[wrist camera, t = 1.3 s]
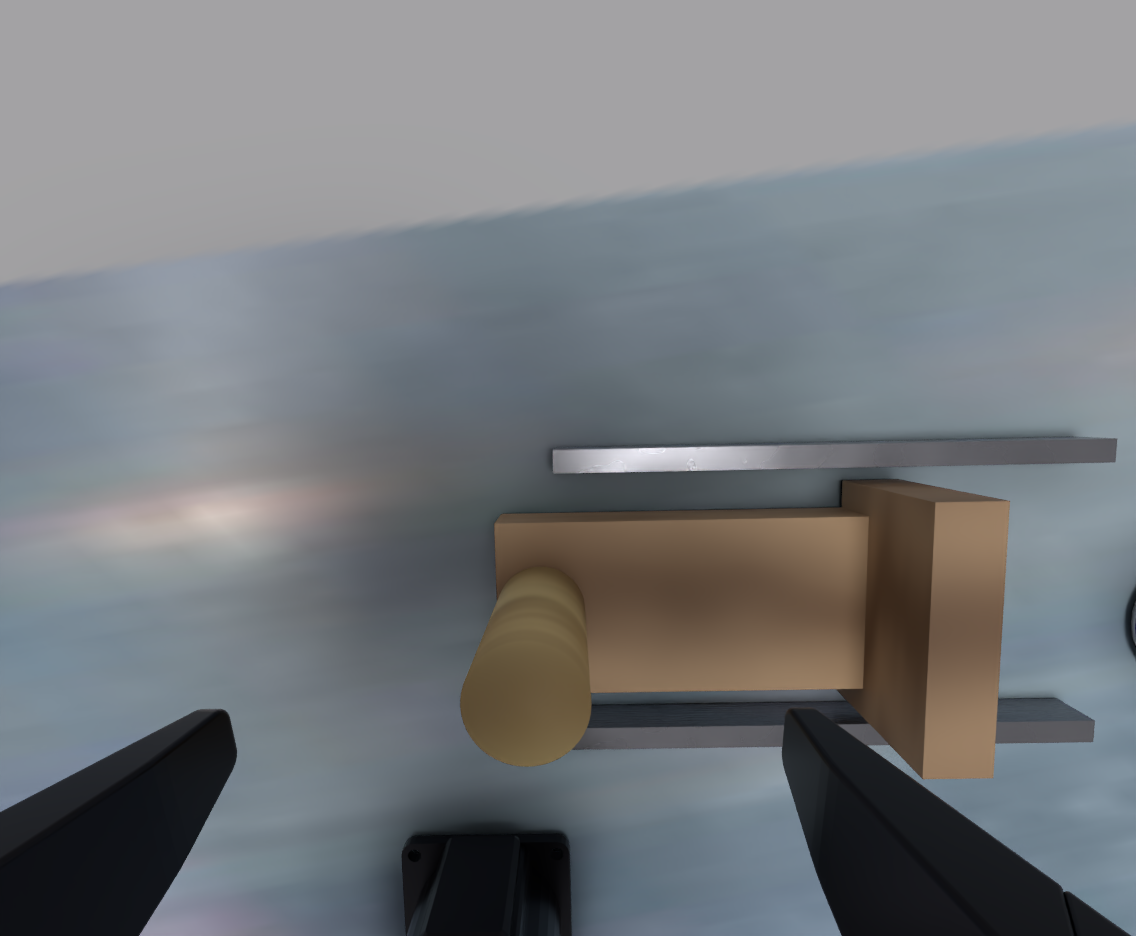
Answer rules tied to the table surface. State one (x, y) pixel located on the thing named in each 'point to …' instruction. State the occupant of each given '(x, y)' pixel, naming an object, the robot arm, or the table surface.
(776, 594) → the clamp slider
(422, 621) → the table surface
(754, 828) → the table surface
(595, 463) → the clamp rails
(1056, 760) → the table surface
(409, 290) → the table surface
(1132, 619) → the energy drink
